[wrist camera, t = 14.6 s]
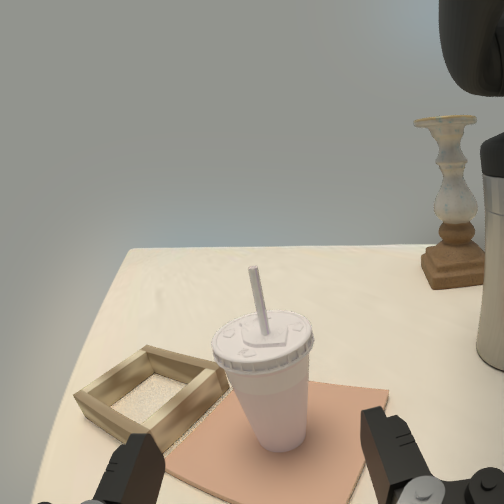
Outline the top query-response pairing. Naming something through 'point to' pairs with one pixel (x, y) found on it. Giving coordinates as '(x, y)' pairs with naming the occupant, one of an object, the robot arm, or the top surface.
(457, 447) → the top surface
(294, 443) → the smoothie
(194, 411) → the square wooden tray
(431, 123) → the candle holder
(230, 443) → the tile
